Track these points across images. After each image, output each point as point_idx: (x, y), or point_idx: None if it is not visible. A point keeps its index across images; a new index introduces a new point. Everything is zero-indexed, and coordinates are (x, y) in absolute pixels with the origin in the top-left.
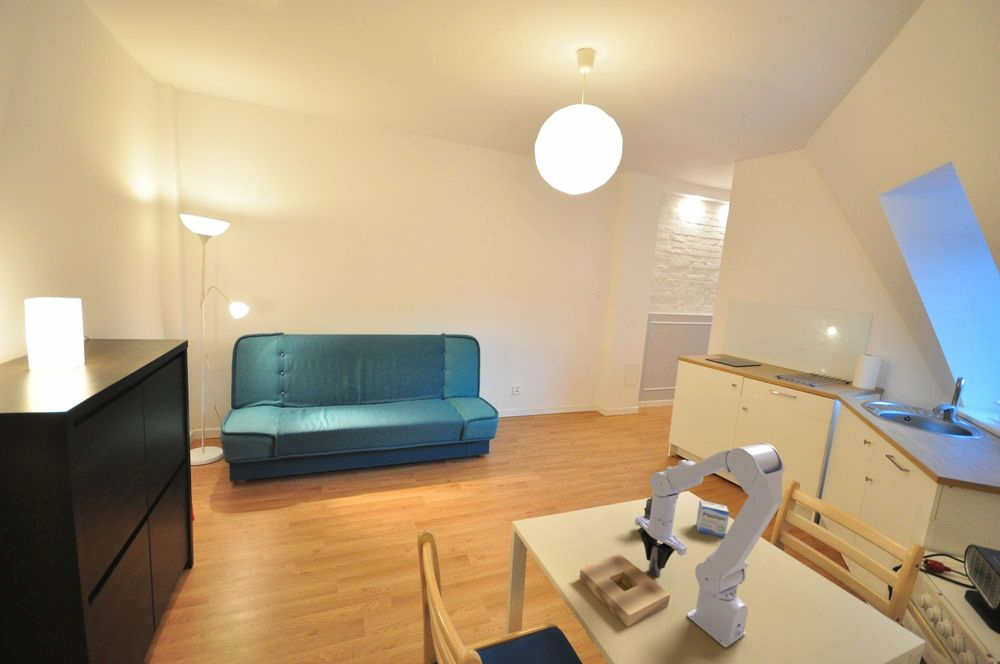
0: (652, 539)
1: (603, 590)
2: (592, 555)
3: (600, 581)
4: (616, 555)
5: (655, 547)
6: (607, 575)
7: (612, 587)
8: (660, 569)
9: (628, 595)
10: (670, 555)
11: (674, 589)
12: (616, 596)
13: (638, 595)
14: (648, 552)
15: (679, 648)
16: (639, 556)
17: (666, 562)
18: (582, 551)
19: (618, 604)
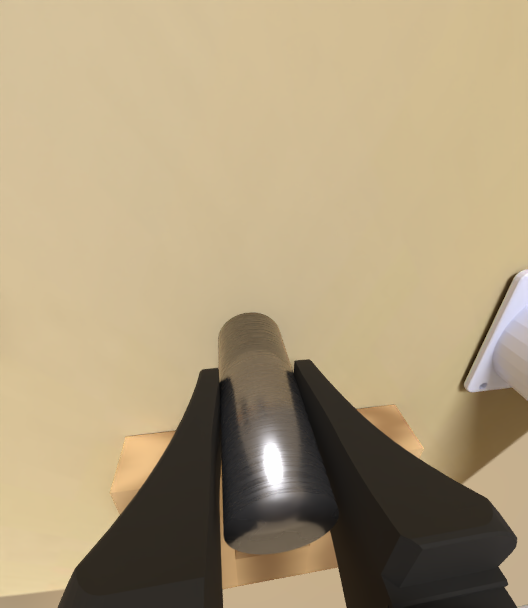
0: (217, 583)
1: (272, 579)
2: (46, 492)
3: (238, 578)
4: (124, 508)
5: (288, 547)
6: (224, 560)
7: (276, 562)
8: (288, 358)
9: (328, 543)
10: (377, 431)
11: (371, 328)
12: (310, 564)
13: None
14: (220, 465)
15: (474, 460)
16: (98, 317)
17: (327, 381)
18: (10, 511)
19: (332, 566)
